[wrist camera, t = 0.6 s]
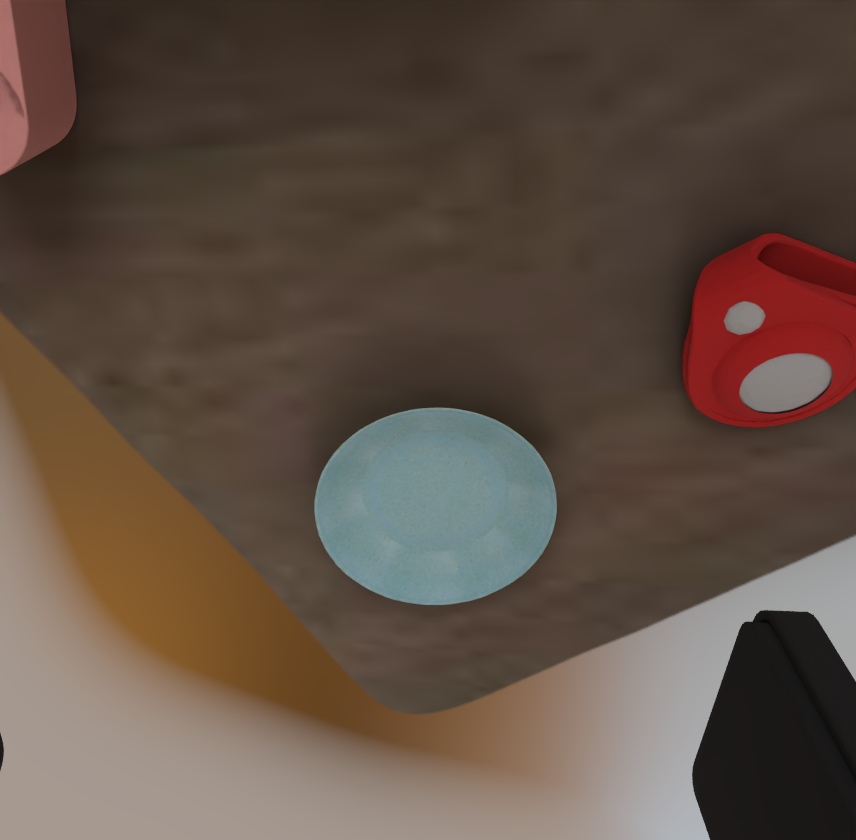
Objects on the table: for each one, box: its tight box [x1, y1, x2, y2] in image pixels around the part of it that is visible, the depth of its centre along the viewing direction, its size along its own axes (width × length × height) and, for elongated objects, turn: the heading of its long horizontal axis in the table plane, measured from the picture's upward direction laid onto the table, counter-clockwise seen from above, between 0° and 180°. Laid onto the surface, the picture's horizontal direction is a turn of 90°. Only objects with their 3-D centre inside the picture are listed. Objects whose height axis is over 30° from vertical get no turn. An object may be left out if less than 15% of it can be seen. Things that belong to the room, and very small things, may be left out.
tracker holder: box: [682, 233, 856, 427], centre depth 36 cm, size 12×4×10 cm
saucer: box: [314, 407, 557, 605], centre depth 41 cm, size 12×12×2 cm
